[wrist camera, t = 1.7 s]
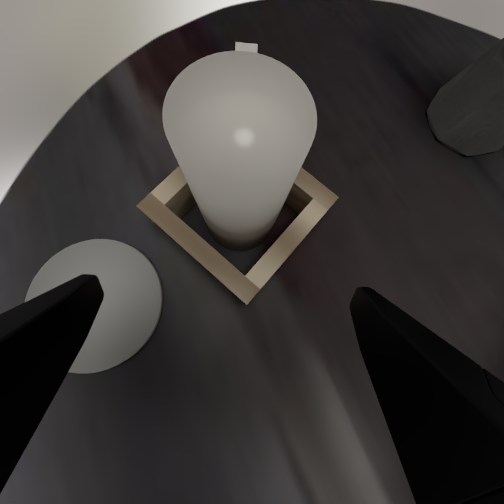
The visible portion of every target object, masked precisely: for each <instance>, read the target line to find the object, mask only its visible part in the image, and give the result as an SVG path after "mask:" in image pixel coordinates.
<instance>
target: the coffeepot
mask: <svg viewBox="0 0 504 504" xmlns="http://www.w3.org/2000/svg"><path fill="white" fill-rule="evenodd" d="M427 117H428V122H429V126H430V128H431V130H432V132H433V134H434V135H435V136H436V138H437V139H438V140H439V141H440V142H441V143H442V144H443V145H444V146H446V147H447V148H449V149H450V150H452V151H454V152H456V153H459V154H463V155H465V156H478V155H482V154H486V153H489V152H495V151H498V150H499V149H500V148H501V147H503V146H504V38H503V39H502V40H500V41H499V42H498V43H497V44H495V45H494V46H493V47H492V48H490V49H489V50H488V51H487V52H485V53H484V54H483V55H481V56H480V57H479V58H478V59H476V60H475V61H474V62H473V63H471V64H470V65H469V66H468V67H466V68H465V69H464V70H463V71H461V72H460V73H459V74H458V75H456V76H455V77H454V78H453V79H451V80H450V81H449V82H448V83H446V84H445V85H444V86H443V87H441V88H440V89H439V91H438V92H437V94H436V96H435V97H434V98H433V100H432V101H431V103H430V105H429V108H428V109H427Z"/></svg>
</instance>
